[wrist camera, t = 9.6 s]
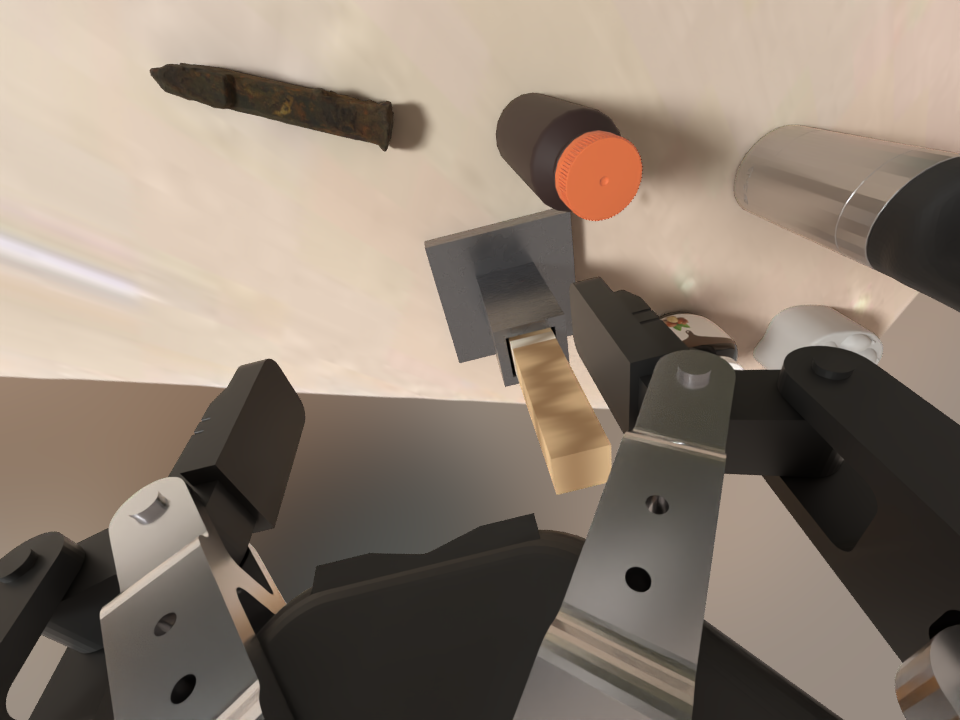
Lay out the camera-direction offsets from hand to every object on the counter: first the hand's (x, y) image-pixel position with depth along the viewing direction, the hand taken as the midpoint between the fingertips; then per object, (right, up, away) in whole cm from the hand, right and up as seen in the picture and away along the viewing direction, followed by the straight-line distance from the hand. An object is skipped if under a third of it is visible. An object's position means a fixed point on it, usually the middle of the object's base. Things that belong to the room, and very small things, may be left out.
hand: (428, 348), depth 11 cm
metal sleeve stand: (+5, +9, +40) cm, 41 cm away
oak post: (+6, +4, +33) cm, 34 cm away
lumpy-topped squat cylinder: (+49, +3, +51) cm, 71 cm away
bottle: (+6, +22, +30) cm, 38 cm away
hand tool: (-16, +23, +26) cm, 38 cm away
